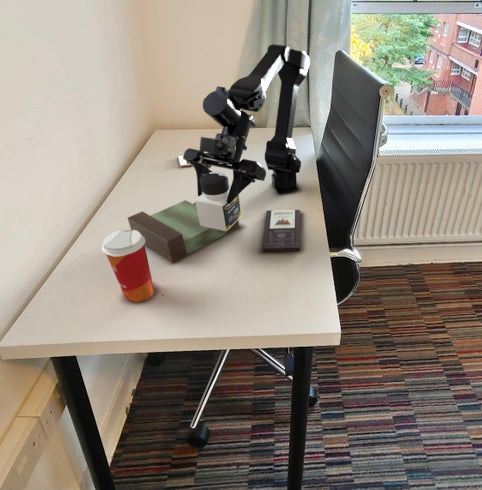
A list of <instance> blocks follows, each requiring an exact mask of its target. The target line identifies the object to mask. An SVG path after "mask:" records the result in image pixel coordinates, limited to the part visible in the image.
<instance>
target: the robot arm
mask: <svg viewBox="0 0 482 490" xmlns="http://www.w3.org/2000/svg"><path fill="white" fill-rule="evenodd" d="M310 60H311V59H310V57H309V55H307V52H306V51H305V50H296V49H293V48H291V47H290V46H287V45H285V44H276V43H272V44H270V45H268V47H267V51H266V53H264V55H263V56H262V58H261V59H260V60H259V62H258V63H257V64H256V66H255V67H254V68H253V69H252V71H251V72H250V73H249V74H248V75H247V76H244V77H241V78H239V79H238V80H236V81H235V82H234V83H233V84H231V86H230V88H229V89H228V88H226V87H224V86H219V85H218V86H216V87H215V90H213V91H211V92H210V93H208V94H207V95H206V97H204V99H203V100H202V109H203V111H204V113H205V114H207V115H208V116H209V117H210V118H211V119H212V120H213V121H214V122H216V123H217V125H218V126H221V127H222V129H221V132H220V133H219V132H217V133H216V134H215V137H214V138H212V137H205V136H200V140H199V141H200V142H199V149H196V148H190V147H189V148H187V149H186V150H185V151H184V152H183V153H184V154H183V155H184V156H183V159H184V160H186V161H187V162H189V163H190V164H191V165H190V166H193V168H194V171H195V173H196V184H197V185H196V186H197V196H198V197H199V196H201V195H202V189H201V184H200V178H201V177H202V176H203V175H205V174H207V173H210V172H213V170H211V168H212V167H215V168H221V169H226V170H230V171H232V182H231V185H230V187H229V188H230V191H229V194H228V197H227V203H229V204H230V203H231V202H232V201H233V200H234V199H235V198H236V197H237V196H238V195H239V196H240V194H241V193H242V192H243V191H244V190H245V189H246V188H247V187H248V186H249V185H251V184H252V183H254V184H255V183H256V180H257V181H262V182H264V181H265V179H266V176H267V171H266V168H265V167H264V166H263V165H262V164H261V163H259V162H258V161H257V160H251V159H246V158H242V155H243V152H244V151H246V152H247V149H248V146H247V144H246V142H247V139H248V136H249V133H250V130H251V128H255V127H256V122H255V120H254V116H253V115H252V114H248V113H247V112H252V113H253V112H255V113H258V112H260V111H261V109H262V108H263V106H264V104H265V102H266V100H267V94H266V91H267V89H268V87H269V86H270V85H271V83H272V82H273V80H274V79H275V78H276V76H277V75H278V77H279V79H280V89H279V98H278V105H277V114H276V121H275V129H274V135H273V136H272V138H271V139H270V140H267V141H266V144H265V151H264V161H265V165H266V167H267V170H269V171H272V174H271V176H270V177H271V186H272V187H271V188H273V190H275V191H276V192H277V194H278V195H282V194H288V193H292V192H293V193H294V192H297V191H299V190H300V188H299V187H298V181H297V174H299V173H300V172H301V167H302V161H301V160H300V158H299V157H298V156H296V154H297V151H296V150H297V148H296V146H295V145H296V144H294V143H295V142H294V140H293V131H294V123H295V117H296V109H297V103H298V95H299V89H300V86H301V84H302V83H303V81H304V80H305V79H306V78H307V75H308V70H309V68H310V64H311V61H310ZM246 111H247V112H246ZM206 152H208V154H210V155H212V156H214V157H210V156H208V155H207V154H205V153H206ZM241 158H242V159H241Z"/></svg>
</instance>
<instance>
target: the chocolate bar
mask: <svg viewBox="0 0 482 490" xmlns="http://www.w3.org/2000/svg"><path fill="white" fill-rule="evenodd" d="M261 251H262V253H273V252H275V253H276V252H277V253H278V252H300V251H301V210H300V209H274V210H272V209H271V210H266V212H265V222H264V230H263V238H262V247H261Z"/></svg>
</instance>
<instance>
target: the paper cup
mask: <svg viewBox="0 0 482 490" xmlns="http://www.w3.org/2000/svg"><path fill="white" fill-rule="evenodd" d="M144 244H145V238H144V237H143V236H142V235H141V234H140V233H139V232H138V231H136V230H133V231H131V229H124V230H123V229H120V230H117V231H114V232H111V233H109V234H108V235H106V237H105V238H103V241H102V245H101V250H102V252H103V253H104V254H105V255H106V258H107V260H108V262H109V264H110V267H111V269H112V271H113V273H114V275H115V278H116V280H117V282H118V284H119V287H120V290H121V292H122V293H123V296H124V298H125V299H126V300H127V301H128V302H131V303H140V302H144V301H147V300H148V299H149V298H151V297H152V296H153V295H154V291H155V287H154V283H153V278H152V274H151V273H152V272H151V269H150V268H151V267H150V263H149V258H148V255H147V250H146V246H145V245H144Z"/></svg>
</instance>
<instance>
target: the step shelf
mask: <svg viewBox="0 0 482 490" xmlns="http://www.w3.org/2000/svg"><path fill="white" fill-rule="evenodd" d="M127 221H128V225H129V228H130V230H131V231H133V230H136V231H138V232H139V233H140V234H141V235H142V236H143V237H144V238H145V244H144V245H145V247H146V248H148V249H150V250H151V251H153V252H154V253H156V254H157V255H159V256H161V257H162V258H164V259H166V260H167V261H169V262H170V263H172V264H173V263H175V262H178V261H179V260H181V259H183V258H184V257H186V256H189V255H190V254H192V253H194V252H195V251H198V250H199V249H201V248H203V247H205V246H207V245H208V244H211V243H213V242H214V241H216V240H218V239H220V238H222V237H224V236H225V235H227V234H229V233H231V232H232V231H234V230H236V229H239V228H240V224H239V219H238V220H237V221H236V222H235V223H234V225H233V226H232V227H231V228H230V229H229V230H228V231H223V230H218V229H213V228H208V227H203V226H201V225H200V222H199V217H198V212H197V207H196V203H195V202H194V203H193V202H190V201H188V200H186V199H185V200H182V201H180V202H178V203H175V204H173V205H171V206H169V207H167V208H164V209H161V210H159V211H157V212H155V213H153V214H148V213H147V212H145V211H140V212H138V213H137V212H136V213H135V214H133V215H130V216H128V217H127Z"/></svg>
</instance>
